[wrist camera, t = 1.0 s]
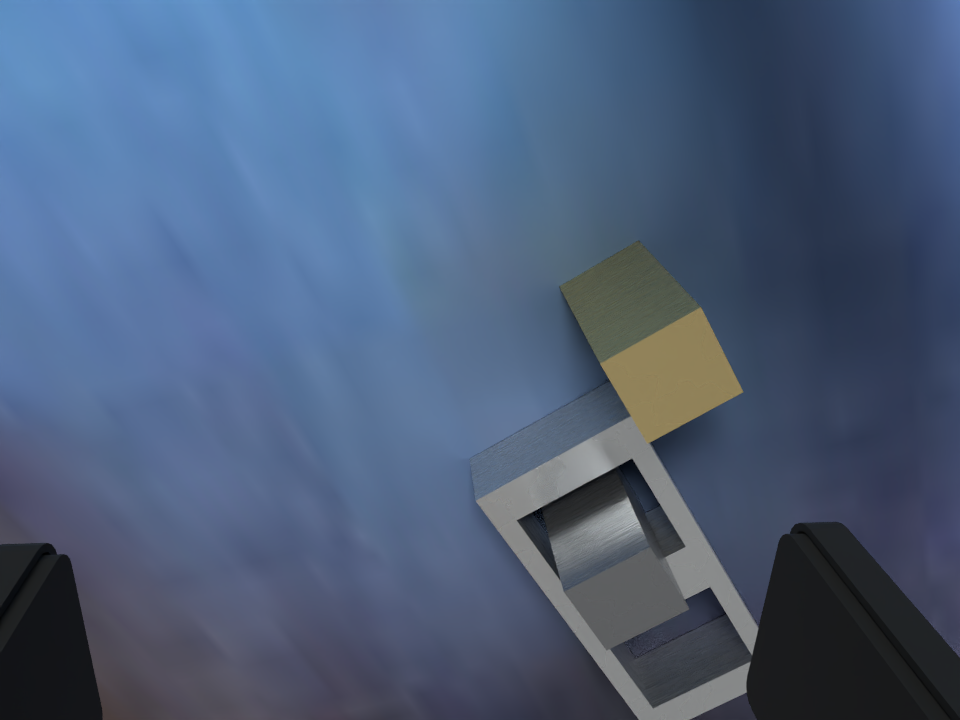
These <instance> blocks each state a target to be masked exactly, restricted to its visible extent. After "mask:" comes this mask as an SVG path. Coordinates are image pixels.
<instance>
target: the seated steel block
mask: <svg viewBox="0 0 960 720" xmlns="http://www.w3.org/2000/svg"><path fill="white" fill-rule="evenodd" d="M541 509H542V513H543V516H544V520H545V524H546V528H547V531H548V535H549V539H550V543H551V546H552V550H553V554H554V558H555V561H556V565H557V569H558V572H559V576H560V580H561V584H562V587H563V591H564V593H565V594H566V596H567V597H568V598H569V600H570V601H571V603H572V604H573V605H574V607H575V608H576V609H577V611H578V612H579V613H580V615H581V616H582V618H583V619H584V620H585V622H586V623H587V624H588V626H589V627H590V629H591V630H592V631H593V633H594V634H595V635H596V637H597V638H598V640H599V641H600V642H601V644H602V645H603V646H604V648H605V649H606V650H609V649H611V648H613V647H615V646H617V645H619V644H621V643H623V642H625V641H627V640H629V639H631V638H633V637H635V636H637V635H639V634H641V633H643V632H645V631H647V630H649V629H651V628H653V627H655V626H657V625H659V624H661V623H663V622H665V621H667V620H669V619H671V618H673V617H675V616H677V615H679V614H681V613H683V612H685V611H687V610H689V607H688V605H687V603H686V601H685V599H684V596H683V594H682V592H681V590H680V588H679V586H678V583H677V581H676V579H675V577H674V575H673V573H672V570H671V568H670V566H669V564H668V562H667V560H666V557H665V555H664V553H663V551H662V549H661V547H660V544H659V542H658V540H657V538H656V536H655V534H654V531H653V529H652V527H651V525H650V523H649V521H648V518H647V516H646V514H645V512H644V510H643V508H642V505H641V503H640V501H639V499H638V497H637V496H636V494H635V492H634V491H633V489H632V488H631V486H630V484H629V483H628V481H627V480H626V478H625V476H624V475H623V473H622V472H621V470H620V468H619V467H618V466H617V467H615V468H613V469H611V470H610V471H608V472H606V473H604V474H602V475H600V476H598V477H597V478H595V479H593V480H591V481H589V482H587V483H585V484H583V485H582V486H580V487H578V488H576V489H574V490H572V491H570V492H569V493H567V494H565V495H563V496H561V497H559V498H557V499H556V500H554V501H552V502H550V503H548V504H546V505H544V506H542V507H541Z"/></svg>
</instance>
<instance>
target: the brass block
mask: <svg viewBox="0 0 960 720" xmlns="http://www.w3.org/2000/svg"><path fill="white" fill-rule="evenodd" d="M560 289H561V291H562V293H563V295H564V297H565V298H566V300H567V302H568V304H569V306H570V308H571V310H572V312H573V314H574V315H575V317H576V319H577V321H578V323H579V325H580V327H581V329H582V331H583V332H584V334H585V336H586V338H587V340H588V342H589V344H590V346H591V348H592V350H593V351H594V353H595V355H596V357H597V359H598V361H599V363H600V365H601V366H602V368H603V370H604V371H605V373H606V375H607V376H608V378H609V380H610V381H611V383H612V385H613V387H614V388H615V390H616V392H617V393H618V395H619V397H620V398H621V400H622V402H623V404H624V405H625V407H626V409H627V410H628V412H629V414H630V415H631V417H632V419H633V420H634V422H635V424H636V426H637V427H638V429H639V431H640V432H641V434H642V436H643V437H644V439H645V441H646V443H647V444H648V443H650V442H652V441H654V440H656V439H657V438H659V437H661V436H663V435H665V434H667V433H669V432H670V431H672V430H674V429H676V428H678V427H680V426H681V425H683V424H685V423H687V422H689V421H691V420H693V419H694V418H696V417H698V416H700V415H702V414H704V413H706V412H707V411H709V410H711V409H713V408H715V407H717V406H719V405H720V404H722V403H724V402H726V401H728V400H730V399H732V398H733V397H735V396H737V395H739V394H741V393H743V390H742V388H741V386H740V384H739V382H738V380H737V378H736V376H735V374H734V372H733V370H732V368H731V366H730V364H729V362H728V360H727V358H726V356H725V354H724V352H723V350H722V348H721V346H720V344H719V342H718V340H717V338H716V336H715V334H714V332H713V330H712V328H711V326H710V324H709V322H708V320H707V318H706V316H705V314H704V312H703V310H702V308H701V307H700V306H699V305H698V303H697V302H696V301H695V300H694V299H693V298H692V297H691V296H690V295H689V294H688V293H687V292H686V291H685V290H684V289H683V287H682V286H681V285H680V284H679V283H678V282H677V281H676V280H675V279H674V278H673V277H672V276H671V275H670V274H669V273H668V271H667V270H666V269H665V268H664V267H663V266H662V265H661V264H660V263H659V262H658V261H657V260H656V259H655V258H654V256H653V255H652V254H651V253H650V252H649V251H648V250H647V249H646V248H645V247H644V246H643V245H642V244H641V243H640V242H639V240H638V241H637V242H635V243H633V244H632V245H630V246H628V247H626V248H625V249H623V250H621V251H620V252H618V253H616V254H614V255H613V256H611V257H609V258H608V259H606V260H604V261H602V262H601V263H599V264H597V265H596V266H594V267H592V268H590V269H589V270H587V271H585V272H584V273H582V274H580V275H578V276H577V277H575V278H573V279H572V280H570V281H568V282H566V283H565V284H563V285H561V286H560Z"/></svg>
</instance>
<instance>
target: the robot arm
mask: <svg viewBox="0 0 960 720" xmlns="http://www.w3.org/2000/svg"><path fill="white" fill-rule="evenodd" d="M746 690H747V696H748V700H749V704H750V706H751V708H752V711H753V713H754V714H755V716H756V718H757V720H960V658H959V657H958V655H957V654H956V653H955V652H954V651H953V650H952V649H951V647H950V646H949V645H948V644H947V643H946V642H945V640H944V639H943V638H942V637H941V636H940V635H939V634H938V632H937V631H936V630H935V629H934V628H933V627H932V625H931V624H930V623H929V622H928V621H927V620H926V619H925V617H924V616H923V615H922V614H921V613H920V612H919V611H918V609H917V608H916V607H915V606H914V605H913V604H912V602H911V601H910V600H909V599H908V598H907V597H906V596H905V594H904V593H903V592H902V591H901V590H900V589H899V587H898V586H897V585H896V584H895V583H894V582H893V581H892V579H891V578H890V577H889V576H888V575H887V574H886V572H885V571H884V570H883V569H882V568H881V567H880V566H879V564H878V563H877V562H876V561H875V560H874V559H873V557H872V556H871V555H870V554H869V553H868V552H867V551H866V549H865V548H864V547H863V546H862V545H861V544H860V542H859V541H858V540H857V539H856V538H855V537H854V536H853V534H852V533H851V532H850V531H849V530H848V529H847V528H846V527H845V526H844V525H843V524H842V523H838V522H816V523H798V524H795V525H794V527H793V528H792V529H791V532H790V534H785V535H783V536H782V537H781V538H780V541H779V544H778V548H777V552H776V556H775V560H774V565H773V569H772V573H771V577H770V582H769V586H768V590H767V594H766V599H765V603H764V607H763V611H762V616H761V620H760V624H759V628H758V633H757V637H756V641H755V645H754V649H753V654H752V658H751V662H750V666H749V671H748V675H747V681H746ZM0 720H102V707H101V702H100V697H99V693H98V688H97V683H96V678H95V674H94V669H93V664H92V659H91V655H90V650H89V645H88V640H87V636H86V631H85V626H84V621H83V617H82V612H81V607H80V602H79V598H78V593H77V588H76V583H75V579H74V574H73V569H72V564H71V561H70V559H69V557H68V556H67V555H64V554H60V555H57V553H56V550H55V548H54V547H53V546H52V544H49V543H30V544H2V545H0Z"/></svg>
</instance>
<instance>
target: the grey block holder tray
mask: <svg viewBox="0 0 960 720" xmlns="http://www.w3.org/2000/svg"><path fill="white" fill-rule="evenodd" d="M630 459H633V460H634V462H635V464H636V465H637V467H638V469H639V470H640V472H641V474H642V475H643V477H644V479H645V480H646V482H647V484H648V485H649V487H650V488H651V490H652V492H653V493H654V495H655V497H656V498H657V500H658V502H659V503H660V506H659V507H657V508H655V509H653V510H651V511H649V512H647V513H645V514H646V516H647V518H648V521H649V523H650V525H651V527H652V529H653V531H654V534H655V536H656V538H657V540H658V542H659V544H660V547H661V549H662V551H663V553H664V555H665V557H666V560H667V562H668V564H669V566H670V568H671V570H672V573H673V575H674V577H675V579H676V581H677V583H678V586H679V588H680V590H681V592H682V594H683V596H684V599H687V598H689V597H691V596H693V595H695V594H697V593H699V592H701V591H703V590H705V589H707V588H709V587H711V589H712V591H713V592H714V594H715V596H716V597H717V599H718V601H719V602H720V604H721V605H722V607H723V609H724V610H725V612H726V614H725V615H723V616H721V617H719V618H717V619H715V620H713V621H711V622H709V623H707V624H705V625H703V626H701V627H699V628H697V629H695V630H693V631H691V632H688V633H686V634H684V635H682V636H680V637H678V638H676V639H674V640H672V641H670V642H668V643H666V644H664V645H662V646H660V647H658V648H656V649H654V650H652V651H650V652H648V653H646V654H644V655H642V656H640V657H638V658H635V657H634V656H633V654H632V653H631V651H630V650H629V649H628V647H627V646H626V644H625V643H624V642H623V643H621V644H619V645H617V646H615V647H613V648H611V649H609V650H606V649H605V648H604V646H603V645H602V644H601V642H600V641H599V640H598V638H597V637H596V635H595V634H594V633H593V631H592V630H591V629H590V627H589V626H588V624H587V623H586V622H585V620H584V619H583V618H582V616H581V615H580V613H579V612H578V611H577V609H576V608H575V607H574V605H573V604H572V603H571V601H570V600H569V598H568V597H567V596H566V594H565V593H564V591H563V587H562V584H561V580H560V576H559V572H558V569H557V565H556V561H555V558H554V554H553V550H552V546H551V543H550V539H549V536H548V534H547V533H546V531H545V530H544V529H543V527H542V526H541V524H540V523H539V522H538V520H537V519H536V517H535V516H534V515H533V513H532V512H533V511H535V510H537V509H539V508H541V507H542V506H544V505H546V504H548V503H550V502H552V501H554V500H556V499H557V498H559V497H561V496H563V495H565V494H567V493H569V492H570V491H572V490H574V489H576V488H578V487H580V486H582V485H583V484H585V483H587V482H589V481H591V480H593V479H595V478H597V477H598V476H600V475H602V474H604V473H606V472H608V471H610V470H611V469H613V468H615V467H617V466H619V465H621V464H623V463H624V462H626V461H628V460H630ZM470 465H471V472H472V479H473V486H474V493H475V500H476V502H477V503H478V505H479V506H480V507H481V509H482V510H483V511H484V513H485V514H486V515H487V517H488V518H489V519H490V521H491V522H492V523H493V525H494V526H495V527H496V529H497V530H498V531H499V533H500V534H501V535H502V537H503V538H504V539H505V541H506V542H507V543H508V545H509V546H510V547H511V549H512V550H513V552H514V553H515V554H516V556H517V557H518V558H519V560H520V561H521V562H522V564H523V565H524V566H525V568H526V569H527V570H528V572H529V573H530V574H531V576H532V577H533V578H534V580H535V581H536V582H537V584H538V585H539V586H540V588H541V589H542V590H543V592H544V593H545V594H546V596H547V597H548V598H549V600H550V601H551V602H552V604H553V605H554V606H555V608H556V609H557V611H558V612H559V613H560V615H561V616H562V617H563V619H564V620H565V621H566V623H567V624H568V625H569V627H570V628H571V629H572V631H573V632H574V633H575V635H576V636H577V637H578V639H579V640H580V641H581V643H582V644H583V645H584V647H585V648H586V649H587V651H588V652H589V653H590V655H591V656H592V657H593V659H594V660H595V661H596V663H597V664H598V666H599V667H600V668H601V670H602V671H603V672H604V674H605V675H606V676H607V678H608V679H609V680H610V682H611V683H612V684H613V686H614V687H615V688H616V690H617V691H618V692H619V694H620V695H621V696H622V698H623V699H624V700H625V702H626V703H627V704H628V706H629V707H630V708H631V710H632V711H633V712H634V714H635V715H636V716H637V718H638V719H639V720H690V719H692V718H694V717H696V716H698V715H700V714H702V713H704V712H706V711H709V710H711V709H713V708H715V707H717V706H719V705H721V704H723V703H725V702H728V701H730V700H732V699H734V698H736V697H738V696H740V695H742V694H744V693H746V692H747V690H746V681H747V675H748V671H749V666H750V662H751V658H752V654H753V649H754V645H755V641H756V637H757V633H758V628H759V626H758V625H757V623H756V621H755V619H754V618H753V616H752V614H751V613H750V611H749V609H748V608H747V606H746V604H745V602H744V601H743V599H742V597H741V596H740V594H739V592H738V591H737V589H736V587H735V585H734V584H733V582H732V580H731V579H730V577H729V575H728V573H727V572H726V570H725V568H724V567H723V565H722V563H721V562H720V560H719V558H718V556H717V555H716V553H715V551H714V550H713V548H712V546H711V544H710V543H709V541H708V539H707V538H706V536H705V534H704V533H703V531H702V529H701V527H700V526H699V524H698V522H697V521H696V519H695V517H694V515H693V514H692V512H691V510H690V509H689V507H688V505H687V504H686V502H685V500H684V498H683V497H682V495H681V493H680V492H679V490H678V488H677V487H676V485H675V483H674V481H673V480H672V478H671V476H670V475H669V473H668V471H667V469H666V468H665V466H664V464H663V463H662V461H661V459H660V458H659V456H658V454H657V452H656V451H655V449H654V447H653V446H652V444H651V442H650V443H648V444H647V443H646V441H645V439H644V437H643V436H642V434H641V432H640V431H639V429H638V427H637V426H636V424H635V422H634V420H633V419H632V417H631V415H630V414H629V412H628V410H627V409H626V407H625V405H624V404H623V402H622V400H621V398H620V397H619V395H618V393H617V392H616V390H615V388H614V387H613V385H612V383H611V381H609V382H607V383H605V384H603V385H602V386H600V387H598V388H596V389H594V390H593V391H591V392H589V393H587V394H585V395H584V396H582V397H580V398H578V399H576V400H575V401H573V402H571V403H569V404H567V405H566V406H564V407H562V408H560V409H559V410H557V411H555V412H553V413H551V414H550V415H548V416H546V417H544V418H542V419H541V420H539V421H537V422H535V423H533V424H532V425H530V426H528V427H526V428H524V429H523V430H521V431H519V432H517V433H515V434H514V435H512V436H510V437H508V438H506V439H505V440H503V441H501V442H499V443H497V444H496V445H494V446H492V447H490V448H488V449H487V450H485V451H483V452H481V453H479V454H478V455H476V456H474V457H472V458H470Z"/></svg>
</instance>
